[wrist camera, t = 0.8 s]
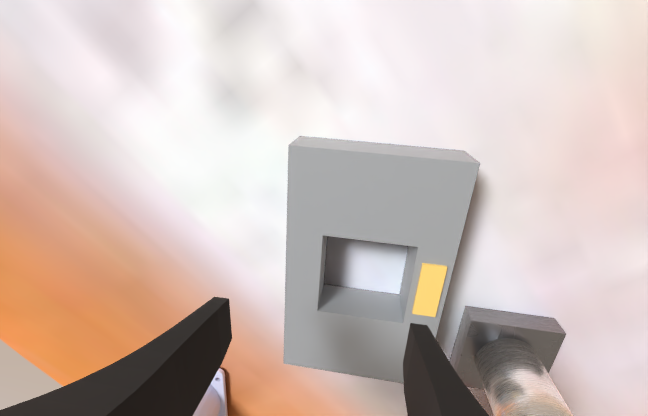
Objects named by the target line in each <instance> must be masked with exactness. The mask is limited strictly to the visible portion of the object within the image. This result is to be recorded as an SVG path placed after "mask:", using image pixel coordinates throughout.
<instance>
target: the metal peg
mask: <svg viewBox="0 0 648 416" xmlns="http://www.w3.org/2000/svg"><path fill="white" fill-rule="evenodd" d="M475 364H476V367H477V370H478V373H479V376H480V379H481V381H482V384H483V387H484V390H485V392H486V395H487V398H488V401H489V404H490V406H491V409H492V412H493V415H494V416H573V414H572V413H571V411H570V409H569V408H568V406H567V404H566V403H565V401H564V399H563V397H562V396H561V394H560V392H559V391H558V389H557V387H556V386H555V384H554V382H553V381H552V379H551V377H550V376H549V374H548V372H547V371H546V369H545V367H544V366H543V364H542V362H541V361H540V359H539V357H538V355H537V354H536V352H535V351H534V349H533V348H532V347H531V346H530V345H529V344H527V343H526V342H523V341H521V340H518V339H512V338H503V339H497V340H494V341H491V342H489V343H487V344H486V345H484V346H483V347H482V348H481V349H480V350H479V351H478V353H477V355H476V358H475Z"/></svg>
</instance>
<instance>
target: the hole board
mask: <svg viewBox="0 0 648 416" xmlns="http://www.w3.org/2000/svg"><path fill="white" fill-rule="evenodd" d="M479 166H480V163H479V162H478V161H477V160H476V159H474V158H473V157H472V156H470V155H469V154H468V153H467V152H465V151H460V150H449V149H438V148H427V147H416V146H405V145H394V144H382V143H371V142H360V141H349V140H338V139H327V138H316V137H305V136H299V137H298V138H297V139H296V140H294V141H293V142H292V143H291V144H289V152H288V196H287V239H286V282H285V325H284V364H290V365H296V366H302V367H308V368H314V369H320V370H326V371H332V372H338V373H344V374H350V375H356V376H362V377H368V378H374V379H380V380H387V381H393V382H399V383H404V379H403V359H404V354H405V349H406V344H407V338H408V333H409V328H410V323H415V324H423V325H427V326H428V327H429V328H430V330H431V332H432V334H433V335H434V337H435V339H436V335H437V331H438V327H439V323H440V319H441V315H442V311H443V307H444V303H445V299H446V295H447V291H448V288H449V284H450V280H451V276H452V272H453V268H454V264H455V260H456V256H457V252H458V248H459V244H460V240H461V236H462V232H463V229H464V225H465V221H466V217H467V213H468V209H469V205H470V201H471V197H472V193H473V189H474V185H475V181H476V177H477V173H478V170H479ZM327 236H331V237H340V238H348V239H356V240H364V241H372V242H381V243H389V244H397V245H405V246H409V247H408V252H407V257H406V263H405V268H404V273H403V279H402V284H401V289H400V295H398V294H391V293H384V292H377V291H369V290H362V289H355V288H348V287H340V286H333V285H326V284H324V273H325V260H326V247H327Z"/></svg>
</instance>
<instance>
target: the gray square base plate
mask: <svg viewBox="0 0 648 416" xmlns="http://www.w3.org/2000/svg"><path fill="white" fill-rule="evenodd" d="M565 335H566V333H565V332H564V330H563V329H562V328H561V326H560V325H559V324H558V323H557V321H556V320H555V319H554V318H548V317H541V316H534V315H527V314H519V313H512V312H505V311H498V310H490V309H483V308H476V307H469V306H465V309H464V313H463V316H462V320H461V323H460V327H459V330H458V334H457V337H456V341H455V344H454V348H453V351H452V355H451V358H450V363H451V365H452V366H453V368H454V369H455V371H456V372H457V374H458V375H459V377H460V378H461V380H462V381H463V382H464V384H465V385H466V386H467V387H473V388H479V389H484V387H483V384H482V381H481V379H480V376H479V373H478V370H477V367H476V364H475V358H476V355H477V353H478V351H479V350H480V349H481V348H482V347H483V346H484V345H486V344H487V343H489V342H491V341H494V340H497V339H503V338H512V339H518V340H521V341H523V342H526V343H527V344H529V345H530V346H531V347H532V348H533V349H534V351H535V352H536V354H537V355H538V357H539V359H540V361H541V362H542V364H543V366H544V367H545V369H546V371H547V372H548V373H549V371H550V369H551V367H552V364H553V362H554V360H555V358H556V355H557V353H558V351H559V349H560V347H561V344H562V342H563V340H564V338H565Z"/></svg>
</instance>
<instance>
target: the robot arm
mask: <svg viewBox="0 0 648 416" xmlns="http://www.w3.org/2000/svg"><path fill="white" fill-rule="evenodd" d="M231 339H232V333H231V320H230V307H229V299H227V298H219V297H214V298H212V299H211V300H209V301H208V302H207V303H205V304H204V305H203V306H201V307H200V308H199V309H197V310H196V311H194V312H193V313H192V314H190V315H189V316H188V317H186V318H185V319H183V320H182V321H181V322H179V323H178V324H176V325H175V326H174V327H172V328H171V329H169V330H168V331H166V332H165V333H163V334H162V335H160V336H159V337H157V338H156V339H154V340H152V341H151V342H149V343H148V344H146V345H145V346H143V347H141V348H140V349H138V350H136V351H135V352H133V353H131V354H129V355H128V356H126V357H124V358H122V359H120V360H119V361H117V362H115V363H113V364H111V365H109V366H107V367H105V368H103V369H101V370H99V371H97V372H95V373H93V374H90V375H88V376H86V377H84V378H82V379H80V380H78V381H75V382H73V383H71V384H68V385H66V386H64V387H61V388H59V389H57V390H54V391H52V392H49V393H47V394H44V395H41V396H39V397H36V398H33V399H31V400H28V401H25V402H22V403H19V404H17V405H14V406H11V407H8V408H5V409H3V410H0V416H228V412H227V398H226V384H225V373H224V371H223V370H222V369H220V368H219V367H220V365H221V364H222V361H223V359H224V357H225V354H226V352H227V349H228V347H229V344H230V342H231ZM403 379H404V393H405V400H406V406H407V413H408V416H489V415H488V414H487V413H486V411H485V410H484V409H483V408H482V406H481V405H480V404H479V403H478V401H477V400H476V399H475V397H474V396H473V395H472V393H471V392H470V391H469V389H468V388H467V387H466V385H465V384H464V382H463V381H462V380H461V378H460V377H459V375H458V374H457V372H456V371H455V369H454V368H453V366H452V365H451V363H450V362H449V360H448V359H447V357H446V356H445V354H444V352H443V351H442V349H441V347H440V346H439V344H438V342H437V341H436V339H435V337H434V335H433V334H432V332H431V330H430V328H429V327H428V326H427V325H423V324H415V323H410V328H409V333H408V338H407V344H406V349H405V354H404V359H403Z"/></svg>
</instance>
